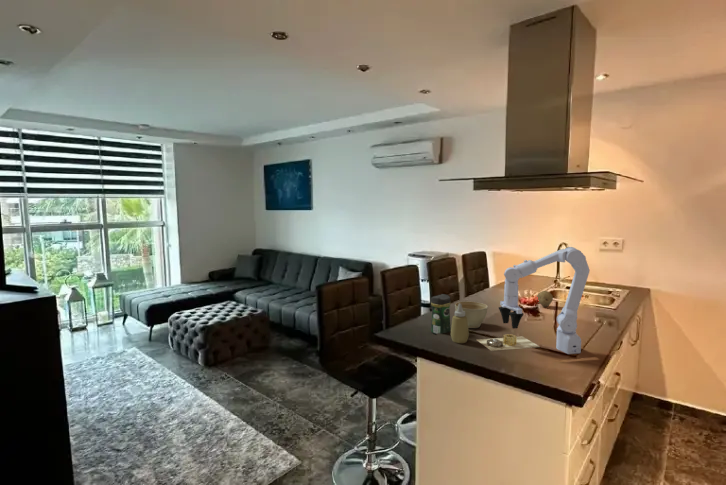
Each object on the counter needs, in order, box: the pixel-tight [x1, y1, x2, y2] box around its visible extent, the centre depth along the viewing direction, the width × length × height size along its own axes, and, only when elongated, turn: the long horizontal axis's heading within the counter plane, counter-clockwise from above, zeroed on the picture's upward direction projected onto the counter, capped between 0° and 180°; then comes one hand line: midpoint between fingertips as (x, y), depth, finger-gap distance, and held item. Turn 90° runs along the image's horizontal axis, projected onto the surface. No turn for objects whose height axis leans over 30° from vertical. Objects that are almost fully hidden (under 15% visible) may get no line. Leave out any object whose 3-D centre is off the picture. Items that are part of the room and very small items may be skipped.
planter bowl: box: [454, 301, 489, 329], centre depth 207 cm, size 16×16×11 cm
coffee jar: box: [430, 293, 451, 335], centre depth 197 cm, size 10×8×19 cm
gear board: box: [476, 335, 541, 352], centre depth 179 cm, size 14×23×4 cm, turn 100°
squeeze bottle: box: [450, 304, 470, 344], centre depth 181 cm, size 8×8×18 cm
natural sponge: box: [536, 290, 554, 308], centre depth 242 cm, size 9×9×10 cm
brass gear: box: [502, 333, 518, 346], centre depth 178 cm, size 6×6×4 cm
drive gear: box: [487, 338, 503, 348], centre depth 176 cm, size 7×7×2 cm
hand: (510, 325), depth 177 cm, fingers open, 7 cm apart
